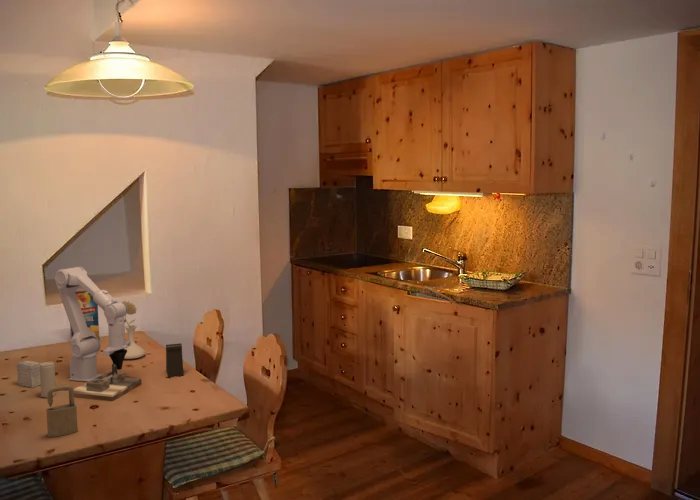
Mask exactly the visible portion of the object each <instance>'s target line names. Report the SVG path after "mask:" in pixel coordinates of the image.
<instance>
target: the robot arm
mask: <svg viewBox="0 0 700 500" xmlns="http://www.w3.org/2000/svg"><path fill="white" fill-rule="evenodd" d="M54 282H55V284H56V287H57V289H58V293H59V296H60V299H61V303H62V305H63V307H64V308H63V309H64V311H65V313H66V316H67V319H68V322H69V326H70V325H71V328H72V331H73V333H74V336H73V337H72V339H71V338H70V340H69V344H70V351H71V354H72V356H71V358H70V360H69V377H70V378H69V377H68V381H75V382H76V381H77V382H85V383H87V382H89V381H91V380H93V379H95V378H97V377H99V376H101V375H103V374H101V373H98V366H97V365H98V363H97V361H98V360H97V355H98V354H99V353H98V352H99V351H100V350H101V346H102V345H101V342H100V341H101V340H100V339H99V340H98V338H97V337H96V335H95V333H94V332H92V331H90V330H88V327H87V325H86V322H85V319H84V316H83V313H82V311H81V308H80V305H79V302H78V299H77V296H76V294H75V292H76V291H78V290H77V289H79V288H82V289H83V291H87V292H88V293H90V294H91V295H92V296H93V301H94V302H95V303H96V304H97V305H98V308H101V310H102V311H103V314H104V317H105V318H106V323H107V325H108V329H107V330H108V346H107V348H105V349H103V350H102V352H103V354H102V355H103V356H104V357H110V359H111V361H112V364H117V371H120V370H122V368H123V363H124V360H125V359H124V357H125V355H126V353H127V350H126V349H125V348H128V346H131V341H129V340H126V334H125V333H126V332H125V331H126V328H125V325H126V324H125V323H124V319H125V315H126V316H127V315H128V314H127V306H126V305H125V303H124V302H122V301H123V300H122V301H119V300H117V299H116V298H114V297H113V296H112V295H111V294H110V293H109V291H108V290H106V289H100V288H99V287H98V286H97V285H96V283H94V282H93V280H92V279H91V278H90V277H89V276H88V271H87V270H85V268H84V267H83V266H75V267H68V268H61V269H58V270H57V271H56V273H55V275H54ZM82 339H85V340H82ZM80 340H82V341H80Z"/></svg>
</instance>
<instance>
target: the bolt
mask: <svg viewBox="0 0 700 500" xmlns="http://www.w3.org/2000/svg"><path fill="white" fill-rule="evenodd" d="M111 371H112V374H111V375H109V376H107V377H105V378H103V379H101V382H102V381H104V380H109V384H110V383H111V382H113V377H112V376H114V375H116V374H118V373H119V372H118V370H117V364H113V363H112V364H111Z"/></svg>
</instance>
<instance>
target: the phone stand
mask: <svg viewBox="0 0 700 500" xmlns="http://www.w3.org/2000/svg"><path fill="white" fill-rule="evenodd" d="M183 364H184V361H183V345H182V343H169V344H166V345H165V371H166V375H167V378H173V377H174V376H176V377H182V376H183V377H184V365H183Z"/></svg>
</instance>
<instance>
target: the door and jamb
mask: <svg viewBox="0 0 700 500" xmlns="http://www.w3.org/2000/svg"><path fill="white" fill-rule="evenodd" d="M117 373H118V374H116V375H114V376H112V377H113V382H111V383H110V384H109V380H104V381H102V382H101V379H103V378H105V377H107V376H109V375H111V374H112V370H110V371H108V372H106V373H104V374H102V375H101V376H99V377H97V378H95V379H93V380H91V381H89V382H85V383H83V384H82V385H80V386H77V387H75V388H73V389H74V398H78V399H87V400H97V401H107V402H113V401H115V400H117V399H118V398H120V397H122V396H124V395H126V394H127V393H129V392H131V391H132V390H134V389H136V388H138V387H139V386H141V385H142V378H141V377H130V376H125V372H124V371H120V372H117Z"/></svg>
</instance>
